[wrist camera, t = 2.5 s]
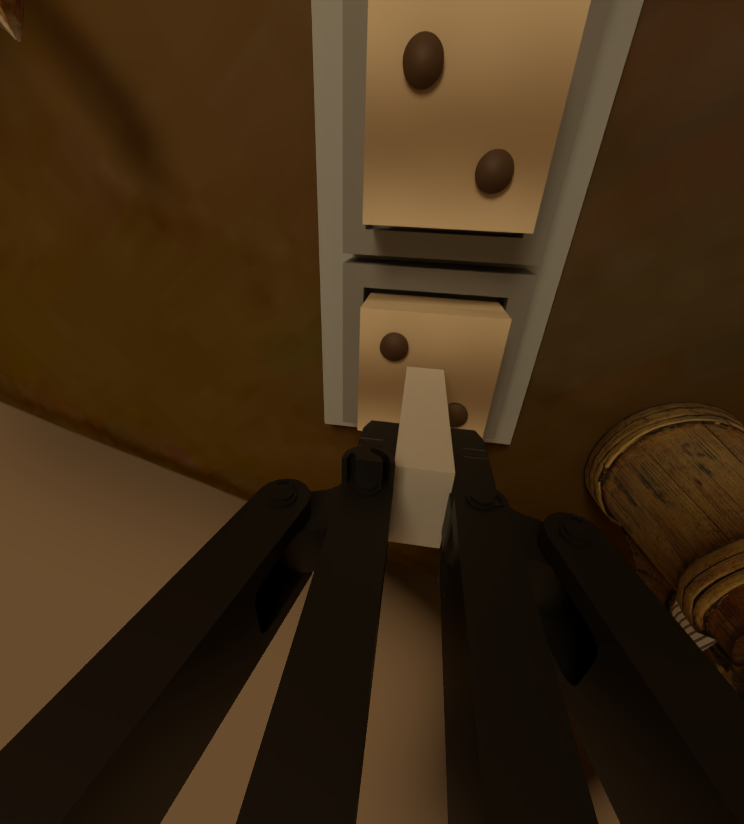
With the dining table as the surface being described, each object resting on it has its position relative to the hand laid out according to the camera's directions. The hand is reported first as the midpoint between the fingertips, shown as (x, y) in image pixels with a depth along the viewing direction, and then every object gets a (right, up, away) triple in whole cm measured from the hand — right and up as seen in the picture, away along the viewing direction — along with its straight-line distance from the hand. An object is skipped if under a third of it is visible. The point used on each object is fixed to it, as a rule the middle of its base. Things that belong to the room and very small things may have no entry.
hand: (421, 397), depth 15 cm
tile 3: (+1, +2, +3) cm, 4 cm away
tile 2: (+1, +10, -1) cm, 10 cm away
